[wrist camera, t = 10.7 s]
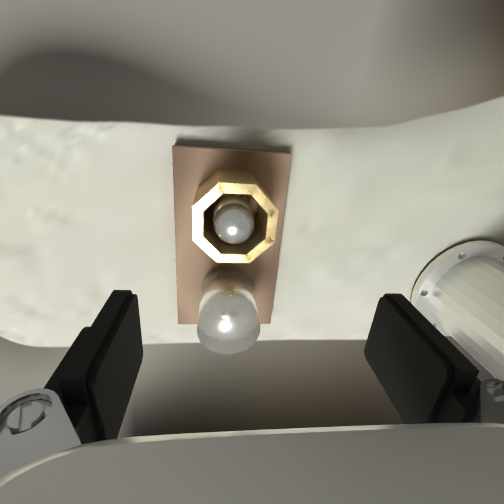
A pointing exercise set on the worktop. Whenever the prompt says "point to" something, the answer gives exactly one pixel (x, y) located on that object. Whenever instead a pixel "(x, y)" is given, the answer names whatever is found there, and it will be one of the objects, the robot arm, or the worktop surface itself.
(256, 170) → the pipe board
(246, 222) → the pair of light bulbs
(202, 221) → the brass coupling
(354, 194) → the worktop surface
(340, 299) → the worktop surface
